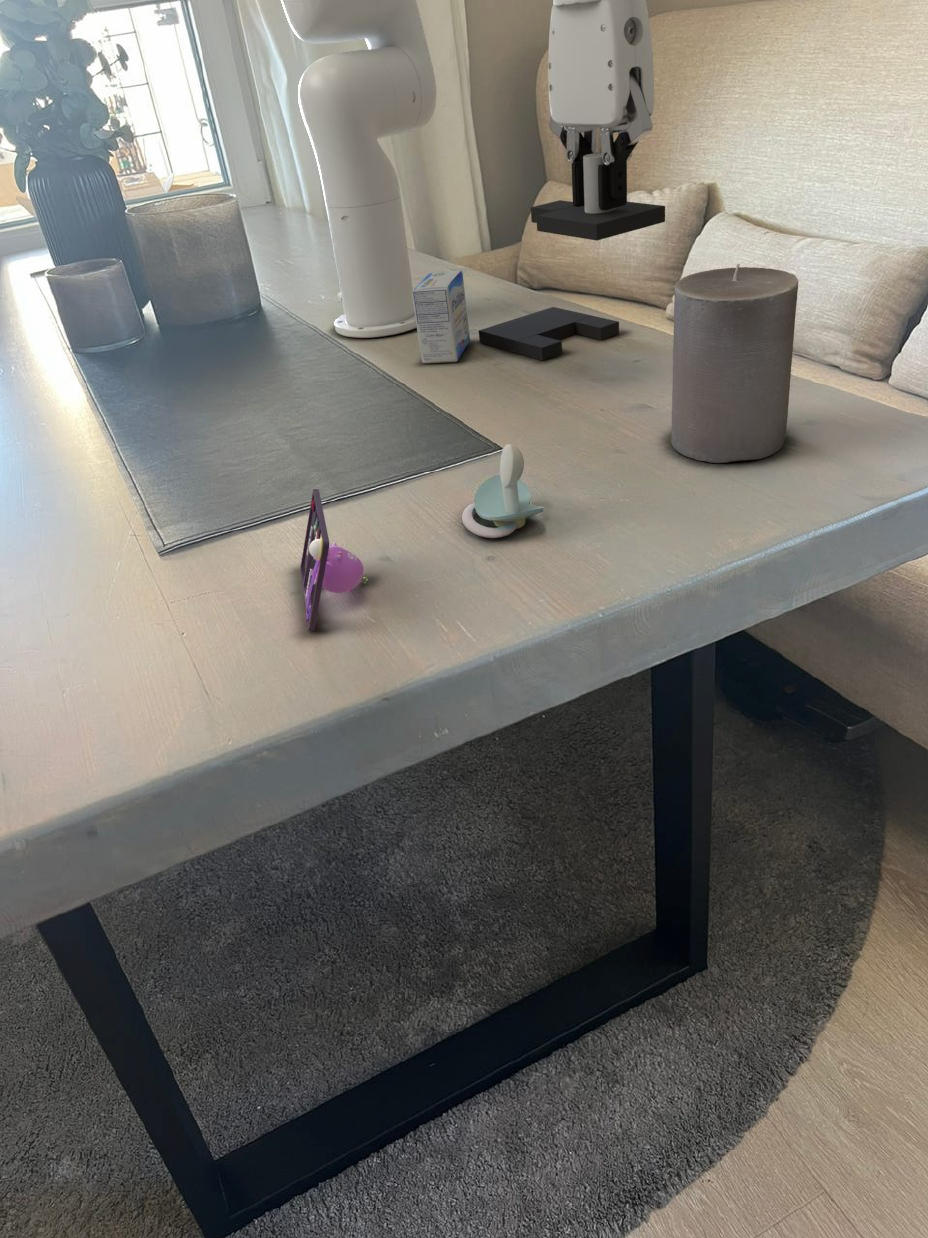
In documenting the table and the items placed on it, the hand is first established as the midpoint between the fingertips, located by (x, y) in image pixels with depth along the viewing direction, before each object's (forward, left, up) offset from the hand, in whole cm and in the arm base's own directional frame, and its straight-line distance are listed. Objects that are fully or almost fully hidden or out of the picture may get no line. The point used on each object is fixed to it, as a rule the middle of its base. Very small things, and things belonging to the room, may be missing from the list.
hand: (599, 203), depth 92 cm
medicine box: (-20, -7, -17) cm, 27 cm away
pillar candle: (+23, -7, -17) cm, 29 cm away
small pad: (-2, 0, -2) cm, 3 cm away
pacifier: (+20, -30, -17) cm, 39 cm away
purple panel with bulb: (+20, -45, -17) cm, 52 cm away
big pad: (-14, +4, -17) cm, 23 cm away
